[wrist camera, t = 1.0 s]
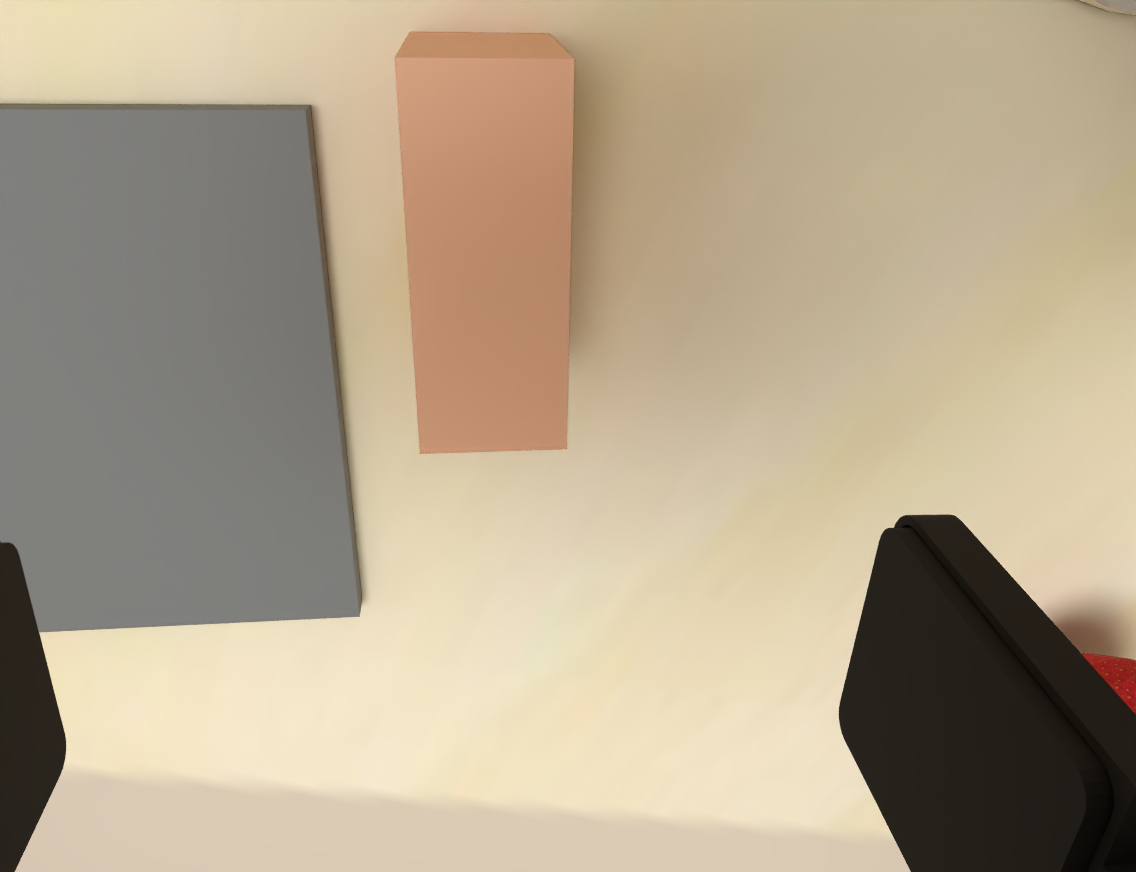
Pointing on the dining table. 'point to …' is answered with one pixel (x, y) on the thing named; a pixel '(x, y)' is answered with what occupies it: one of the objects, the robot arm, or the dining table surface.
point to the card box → (488, 236)
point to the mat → (170, 368)
